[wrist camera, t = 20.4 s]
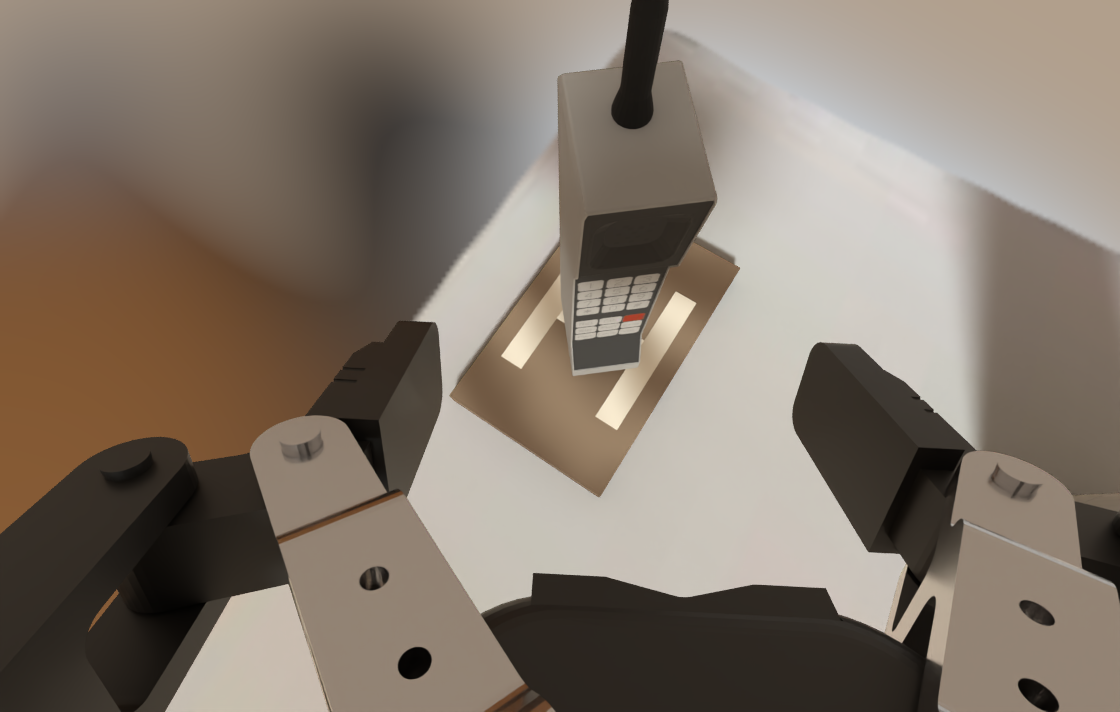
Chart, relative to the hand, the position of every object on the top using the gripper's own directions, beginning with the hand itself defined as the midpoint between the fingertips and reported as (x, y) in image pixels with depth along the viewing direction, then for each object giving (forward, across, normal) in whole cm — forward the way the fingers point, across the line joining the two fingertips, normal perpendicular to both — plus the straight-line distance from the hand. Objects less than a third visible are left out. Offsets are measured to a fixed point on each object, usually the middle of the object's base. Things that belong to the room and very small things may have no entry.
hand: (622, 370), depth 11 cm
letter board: (+19, +1, -8) cm, 20 cm away
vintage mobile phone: (+18, +1, -8) cm, 19 cm away
